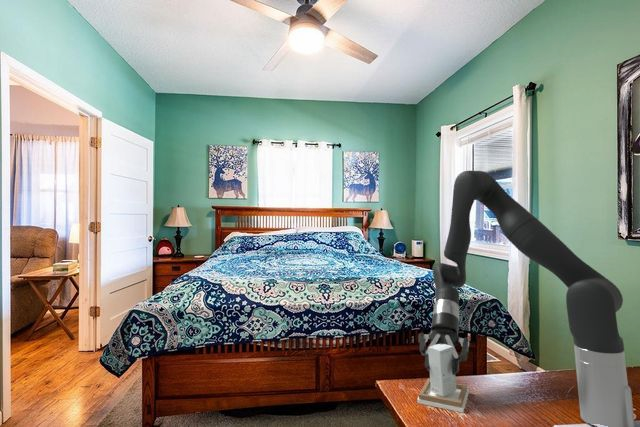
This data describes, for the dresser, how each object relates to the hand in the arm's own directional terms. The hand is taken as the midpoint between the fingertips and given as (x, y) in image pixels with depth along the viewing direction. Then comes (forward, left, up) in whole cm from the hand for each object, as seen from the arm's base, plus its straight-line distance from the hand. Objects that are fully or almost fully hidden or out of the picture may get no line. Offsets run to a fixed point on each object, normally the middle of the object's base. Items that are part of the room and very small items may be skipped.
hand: (441, 371), depth 92 cm
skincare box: (0, -2, -6) cm, 6 cm away
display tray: (0, -2, -8) cm, 8 cm away
